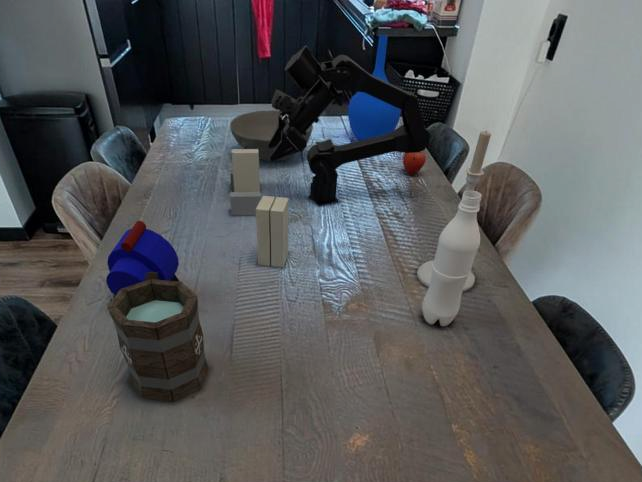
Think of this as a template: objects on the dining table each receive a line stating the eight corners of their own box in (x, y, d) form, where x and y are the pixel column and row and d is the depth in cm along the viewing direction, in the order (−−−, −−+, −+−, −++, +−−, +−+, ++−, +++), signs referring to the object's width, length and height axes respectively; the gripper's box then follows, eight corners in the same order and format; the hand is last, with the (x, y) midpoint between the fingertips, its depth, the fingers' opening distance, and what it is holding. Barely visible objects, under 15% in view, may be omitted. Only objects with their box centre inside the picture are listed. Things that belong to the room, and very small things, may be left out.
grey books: (258, 183, 142) (257, 165, 138) (261, 215, 127) (260, 196, 124) (231, 183, 141) (230, 166, 138) (231, 215, 127) (230, 196, 123)
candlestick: (406, 268, 110) (436, 123, 88) (451, 258, 114) (491, 116, 92) (438, 297, 102) (480, 145, 80) (486, 286, 106) (538, 137, 84)
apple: (416, 168, 153) (422, 134, 146) (426, 176, 149) (433, 141, 142) (394, 170, 152) (400, 136, 144) (404, 178, 147) (410, 143, 140)
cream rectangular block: (259, 198, 135) (258, 148, 125) (260, 202, 133) (258, 152, 123) (235, 199, 134) (231, 149, 125) (235, 203, 132) (231, 152, 123)
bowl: (325, 153, 161) (327, 120, 153) (282, 178, 145) (282, 142, 138) (262, 137, 170) (261, 105, 163) (215, 159, 155) (212, 125, 147)
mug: (214, 394, 80) (203, 321, 69) (131, 408, 78) (106, 334, 67) (199, 326, 93) (188, 256, 82) (128, 336, 90) (107, 264, 80)
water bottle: (415, 309, 99) (445, 185, 81) (448, 308, 99) (485, 185, 81) (424, 330, 94) (458, 203, 76) (459, 329, 95) (501, 203, 76)
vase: (368, 128, 180) (380, 28, 159) (406, 141, 171) (424, 37, 150) (335, 138, 172) (342, 34, 150) (373, 152, 163) (386, 43, 141)
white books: (264, 250, 114) (262, 195, 105) (288, 252, 114) (288, 198, 104) (258, 264, 110) (255, 209, 100) (283, 267, 109) (283, 211, 100)
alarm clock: (186, 287, 102) (174, 219, 92) (162, 319, 94) (146, 249, 83) (133, 279, 104) (116, 211, 93) (106, 310, 96) (83, 240, 85)
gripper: (287, 68, 119) (246, 118, 127) (294, 87, 107) (247, 141, 114) (317, 104, 126) (276, 149, 133) (326, 126, 113) (280, 175, 120)
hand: (269, 153), depth 125 cm, fingers open, 9 cm apart
